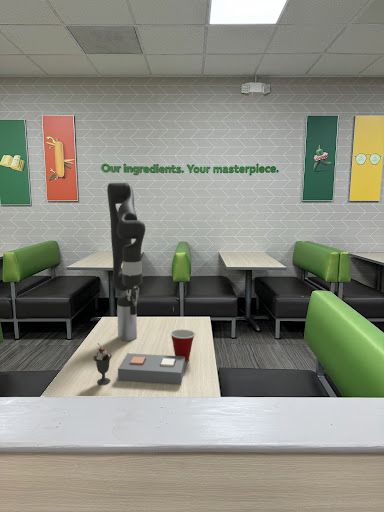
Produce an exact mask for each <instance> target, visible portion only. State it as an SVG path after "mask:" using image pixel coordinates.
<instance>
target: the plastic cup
mask: <svg viewBox="0 0 384 512" xmlns="http://www.w3.org/2000/svg"><path fill="white" fill-rule="evenodd" d="M170 336H171V340H172V347H173V352H174V356H184V357H185V362H188V361H189V359H190V355H191V351H192V347H193V346H192V345H193V341H194V339H195V336H196V333H195V331H192V330H189V329H174V330H171V331H170ZM187 360H188V361H187Z"/></svg>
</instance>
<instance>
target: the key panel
mask: <svg viewBox="0 0 384 512" xmlns="http://www.w3.org/2000/svg"><path fill="white" fill-rule="evenodd" d="M133 357H145V363H144V365H130V362H131V360H132V358H133ZM163 358H167V359H175V366H174V367H161V362H162V360H163ZM185 368H186V361H185V357H184V356H175V355H167V354H166V355H164V354H148V353H147V354H145V353H129V352H128V353H127V354H126V355H125V357H124V359H122V361H121V363H120V364H119V367H118V368H117V381H118V382H125V383H127V382H128V383H145V384H155V385H156V384H157V385H159V384H160V385H173V386H181V385H182V382H183V377H184V375H185Z"/></svg>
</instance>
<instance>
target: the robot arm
mask: <svg viewBox="0 0 384 512" xmlns="http://www.w3.org/2000/svg"><path fill="white" fill-rule="evenodd" d="M106 188H107V189H106V191H107V202H108V208H109V216H110V217H109V218H110V239H111V250H112V266H113V267H112V285H113V288H114V290H115V291H118V292H119V291H120V292H121V291H123V292H126V294H125V295H123V296H120V297H118V298H117V300H116V305H117V306H116V307H117V308H116V309H117V310H116V312H117V314H116V315H117V339H118V340H119V341H123V342H128V341H133V340H135V339H137V338H138V337H137V336H138V333H137V332H138V329H137V326H138V324H137V322H138V321H137V320H138V319H137V317H138V315H137V304H138V302H139V297H140V296H139V295H140V290H141V289H140V287H139V286H140V285H142V284H143V264H142V245H143V241H144V237H145V234H146V225H145V222H143V221H142V220H140V219H139V220H138V215H137V212H136V210H135V196H134V190H133V186H132V184H130V183H129V182H110V183H108V185H107V187H106ZM119 204H120V206H119V207H118V208H117V205H119ZM133 240H134V242H133V243H132V241H133Z"/></svg>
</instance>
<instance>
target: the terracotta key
mask: <svg viewBox="0 0 384 512" xmlns="http://www.w3.org/2000/svg"><path fill="white" fill-rule="evenodd" d="M144 363H145V357H133V358H132V360H131V362H130V365H144Z"/></svg>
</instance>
